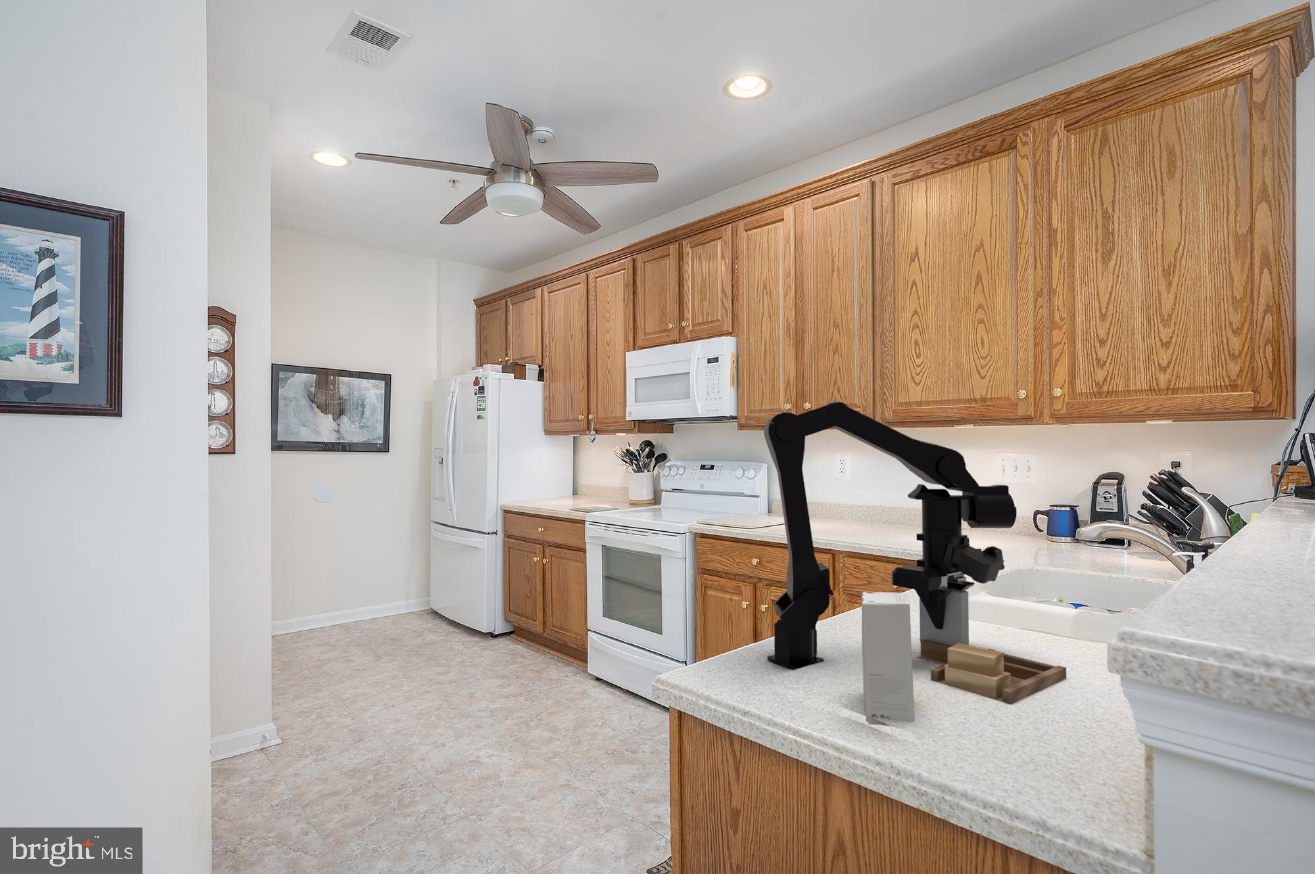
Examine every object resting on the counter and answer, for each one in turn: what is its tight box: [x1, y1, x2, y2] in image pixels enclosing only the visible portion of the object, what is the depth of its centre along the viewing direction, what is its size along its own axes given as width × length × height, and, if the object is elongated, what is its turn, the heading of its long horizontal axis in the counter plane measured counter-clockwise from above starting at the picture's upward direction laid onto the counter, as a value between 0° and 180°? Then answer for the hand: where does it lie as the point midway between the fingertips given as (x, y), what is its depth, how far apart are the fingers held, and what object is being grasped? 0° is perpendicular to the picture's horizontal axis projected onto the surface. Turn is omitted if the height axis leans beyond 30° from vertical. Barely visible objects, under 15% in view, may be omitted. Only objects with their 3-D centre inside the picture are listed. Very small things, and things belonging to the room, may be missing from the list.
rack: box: [930, 648, 1067, 705], centre depth 92 cm, size 16×11×2 cm
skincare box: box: [861, 591, 916, 726], centre depth 83 cm, size 8×6×15 cm
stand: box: [916, 639, 952, 666], centre depth 102 cm, size 7×5×4 cm
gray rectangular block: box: [918, 589, 970, 646], centre depth 102 cm, size 2×7×9 cm, turn 36°
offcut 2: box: [944, 665, 1011, 700], centre depth 89 cm, size 4×7×2 cm, turn 36°
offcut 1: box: [948, 643, 1005, 677], centre depth 89 cm, size 4×6×2 cm, turn 44°
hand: (943, 627), depth 102 cm, fingers closed on gray rectangular block, 2 cm apart
